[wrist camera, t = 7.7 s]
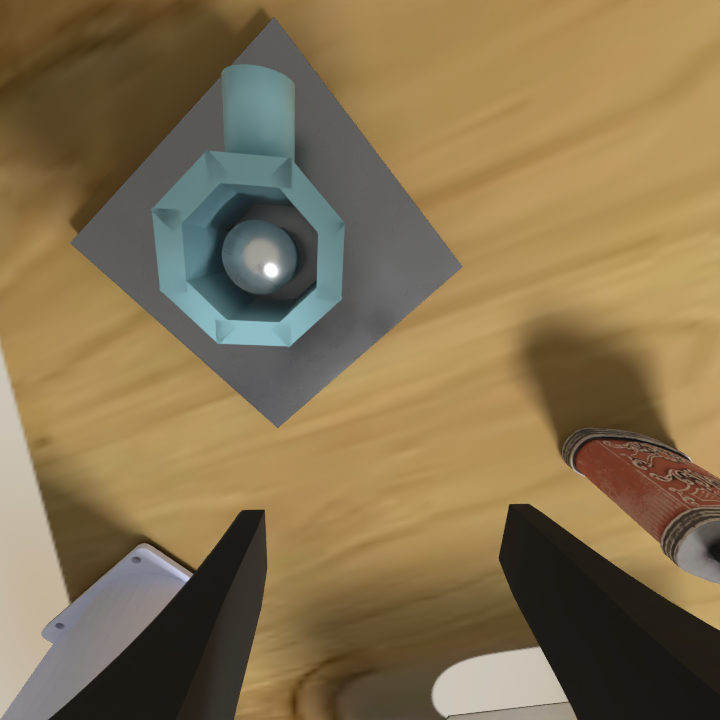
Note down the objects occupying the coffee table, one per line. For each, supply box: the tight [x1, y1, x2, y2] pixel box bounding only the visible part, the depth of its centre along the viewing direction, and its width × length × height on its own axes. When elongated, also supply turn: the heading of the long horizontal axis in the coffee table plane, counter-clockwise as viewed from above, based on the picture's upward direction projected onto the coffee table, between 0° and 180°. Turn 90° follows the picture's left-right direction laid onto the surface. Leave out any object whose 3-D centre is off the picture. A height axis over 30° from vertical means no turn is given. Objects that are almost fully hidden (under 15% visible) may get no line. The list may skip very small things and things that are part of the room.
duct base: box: [71, 18, 462, 428], centre depth 14 cm, size 12×12×5 cm
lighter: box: [562, 428, 720, 584], centre depth 17 cm, size 8×3×10 cm, turn 75°
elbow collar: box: [151, 64, 345, 347], centre depth 13 cm, size 8×6×5 cm
